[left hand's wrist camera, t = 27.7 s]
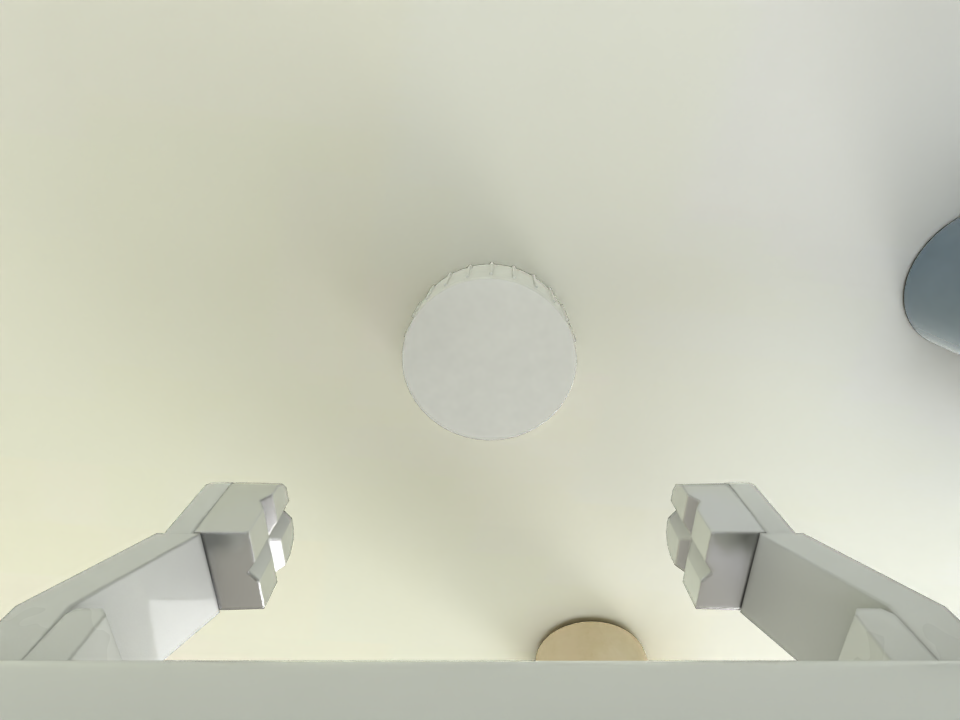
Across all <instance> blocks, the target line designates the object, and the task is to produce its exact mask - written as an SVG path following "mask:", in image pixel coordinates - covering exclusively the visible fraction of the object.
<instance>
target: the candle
mask: <svg viewBox="0 0 960 720" xmlns="http://www.w3.org/2000/svg"><path fill="white" fill-rule="evenodd" d="M536 661H648V660H647V657H646V654H645V652H644V650H643V648H642V646H641V644H640V643H639V641H638V640H637V639H636V638H635V637H634V636H633V635H632V634H631V633H629V632H628V631H626V630H625V629H623V628H621V627H618V626H616V625H613V624H609V623H604V622H594V621H592V622H579V623H574V624H570V625H567V626H564V627H562V628H560V629H558V630H556V631H555V632H553V633H552V634H550V635H549V636H548V637H547V638H546V639H545V640H544V641H543V642H542V644H541V645H540V647H539V649H538V651H537V654H536Z"/></svg>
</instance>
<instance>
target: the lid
mask: <svg viewBox="0 0 960 720" xmlns="http://www.w3.org/2000/svg"><path fill="white" fill-rule="evenodd" d="M412 317H413V320H412V322H411V324H410V325H409V327H408V329H407V331H406V333H405V334H404V337H405V339H404V344H403V350H402V366H403V373H404V377H405V381H406V384H407V386H408V389H409V391H410V393H411V395H412V397H413V398H414V400H415V402H416V403H417V404H418V406H419V407H420V408H421V410H422V411H423V412H424V413H425V414H426V415H427V416H428V417H429V418H431V419H432V420H433V421H434V422H436V423H437V424H438V425H440V426H442V427H443V428H445V429H446V430H449V431H451V432H453V433H455V434H458V435H461V436H464V437H467V438H472V439H478V440H502V439H509V438H513V437H516V436H520V435H522V434H525V433H528V432H530V431H532V430H533V429H535V428H537V427H539V426H540V425H542V424H543V423H544V422H546V421H547V420H548V419H549V418H550V417H552V416H553V415H554V414H555V413H556V411H557V410H558V409H559V408H560V407H561V406H562V404H563V402H564V401H565V399H566V398H567V396H568V394H569V392H570V390H571V388H572V384H573V381H574V378H575V372H576V363H577V355H576V347H575V343H574V342H576V339H575V336H574V334H573V331H572V329H571V326H570V324H568V322H567V321H569V319H568V316H567V314H566V311H565V309H564V306H563V304H562V305H560V304H559V302H558V300H557V299H556V297H555V296H554V294H553V292H552V289H551V288H550V287H549V288H547V287H546V286H545V285H544V284H543V283H542V282H541V281H539V280H538V279H536V276H535V275H534V274H532V275H530V274H528V273H526V272H524V271H522V270H519V269H516V268H515V266H512V267H509V266H505V265H496V264H494V263H493V262H491V263H490V264H483V265H476V266H472V265H469V266H468V267H467V268H464V269H461V270H459V271H457V272H455V273H451V272H450V273H449V274H448V276H447V277H446V278H444V279H443V280H441V281H440V282H439V283H438V284H437V285H436V286H435V285H433V286H432V287H431V289H430V290H429V292H428V294H427V296H426V297H425V299H424V300H423V302H422V301H420V303H419V304H418V306H417V308H416V310H415V311H414V313H413V315H412Z"/></svg>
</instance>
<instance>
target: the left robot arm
mask: <svg viewBox="0 0 960 720" xmlns="http://www.w3.org/2000/svg"><path fill="white" fill-rule="evenodd" d="M288 502H289V498H288V493H287V488H286V487H285V486H284V485H283V484H282V483H233V482H212V483H209V484H206V485H205V486H204V487H203V489H202V490H201V491H200V492H199V493H198V494H197V496H196V497H195V498H194V499H193V500H192V502H191V503H190V504H189V505H188V506H187V507H186V509H185V510H184V511H183V512H182V513H181V514H180V516H179V517H178V518H177V519H176V520H175V521H174V523H173V524H172V525H171V526H170V527H169V529H168V530H167V531H166V532H165V533H156V534H154V535H152V536H151V537H149V538H147V539H145V540H143V541H141V542H139V543H137V544H135V545H133V546H131V547H129V548H127V549H125V550H123V551H121V552H120V553H118V554H116V555H114V556H112V557H110V558H108V559H106V560H104V561H102V562H100V563H98V564H96V565H94V566H92V567H90V568H88V569H87V570H85V571H83V572H81V573H79V574H77V575H75V576H73V577H71V578H69V579H67V580H65V581H63V582H61V583H59V584H57V585H56V586H54V587H52V588H50V589H48V590H46V591H44V592H42V593H40V594H38V595H36V596H34V597H32V598H30V599H28V600H26V601H24V602H23V603H21V604H19V605H17V606H15V607H14V608H13V609H12V610H11V611H10V612H9V613H8V614H7V615H6V616H5V617H4V618H3V619H2V620H0V720H960V620H959V619H958V618H957V617H956V616H955V615H954V614H952V613H951V612H950V611H949V610H948V609H947V608H946V607H945V606H943V605H941V604H939V603H937V602H935V601H933V600H931V599H929V598H927V597H925V596H924V595H922V594H920V593H918V592H916V591H914V590H912V589H910V588H908V587H906V586H904V585H902V584H900V583H898V582H896V581H895V580H893V579H891V578H889V577H887V576H885V575H883V574H881V573H879V572H877V571H875V570H873V569H871V568H869V567H867V566H865V565H864V564H862V563H860V562H858V561H856V560H854V559H852V558H850V557H848V556H846V555H844V554H842V553H840V552H838V551H836V550H835V549H833V548H831V547H829V546H827V545H825V544H823V543H821V542H819V541H817V540H815V539H813V538H811V537H809V536H807V535H806V534H804V533H795V532H794V531H793V530H792V529H791V527H790V526H789V525H788V524H787V523H786V522H785V520H784V519H783V518H782V517H781V516H780V514H779V513H778V512H777V511H776V510H775V509H774V507H773V506H772V505H771V504H770V503H769V502H768V500H767V499H766V498H765V497H764V496H763V495H762V493H761V492H760V491H759V490H758V489H757V488H756V486H755V485H753V484H751V483H749V482H736V483H720V484H676V485H675V487H674V489H673V492H672V497H671V502H672V503H673V505H674V507H675V509H676V511H675V512H674V513H673V514H672V515H671V516H670V517H669V518H668V522H667V530H666V534H667V546H668V549H669V553H670V556H671V558H672V560H673V562H674V565H676V566H677V567H678V568H680V569H681V570H683V571H684V578H683V583H684V585H685V587H686V590H687V592H688V594H689V596H690V598H691V600H692V602H693V604H694V606H695V608H696V609H721V610H741V611H740V612H741V613H742V614H743V615H744V616H745V617H747V618H748V619H749V620H750V621H751V622H752V623H754V624H755V625H756V626H757V627H758V628H759V629H761V630H762V631H763V632H764V633H765V634H766V635H768V636H769V637H770V638H771V639H772V640H773V641H775V642H776V643H777V644H778V645H779V646H780V647H782V648H783V649H784V650H785V651H786V652H787V653H789V654H790V655H791V656H792V657H793V658H794V659H796V660H797V661H163V660H164V659H166V658H167V657H168V656H169V655H170V654H171V653H173V652H174V651H175V650H176V649H177V648H179V647H180V646H181V645H182V644H183V643H184V642H186V641H187V640H188V639H189V638H190V637H191V636H193V635H194V634H195V633H196V632H197V631H198V630H200V629H201V628H202V627H203V626H204V625H205V624H207V623H208V622H209V621H210V620H211V619H212V618H214V617H215V616H216V615H217V614H218V613H219V610H239V609H264V608H265V606H266V604H267V602H268V600H269V598H270V596H271V594H272V592H273V590H274V587H275V585H276V583H277V578H276V571H277V570H279V569H280V568H282V567H283V566H284V565H286V562H287V560H288V558H289V556H290V553H291V549H292V544H293V522H292V518H291V517H290V516H289V515H288V514H287V513H286V512H285V511H284V509H285V507H286V505H287V503H288Z"/></svg>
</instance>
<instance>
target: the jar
mask: <svg viewBox="0 0 960 720" xmlns="http://www.w3.org/2000/svg"><path fill="white" fill-rule="evenodd" d="M904 307H905V311H906V315H907V317H908V319H909V322H910V323H911V325H912V326H913V328H914V329H915V330H916V331H917V332H918V334H919V335H921V336H922V337H923V338H925V339H926V340H928V341H930V342H932V343H934V344H936V345H938V346H941V347H943V348H945V349H947V350H950V351H952V352H954V353H957V354H959V355H960V217H959V218H957V219H955V220H954V221H952V222H951V223H949V224H948V225H947V226H945V227H944V228H943V229H942V230H940V231H939V232H938V233H937V234H936V235H935V236H934V237H933V238H932V239H931V240H930V241H929V242H928V243H927V244H926V245H925V247H924V248H923V249H922V250H921V252H920V253H919V255H918V256H917V258H916V259H915V261H914V263H913V265H912V267H911V269H910V271H909V274H908V277H907V280H906V284H905V289H904Z"/></svg>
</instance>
